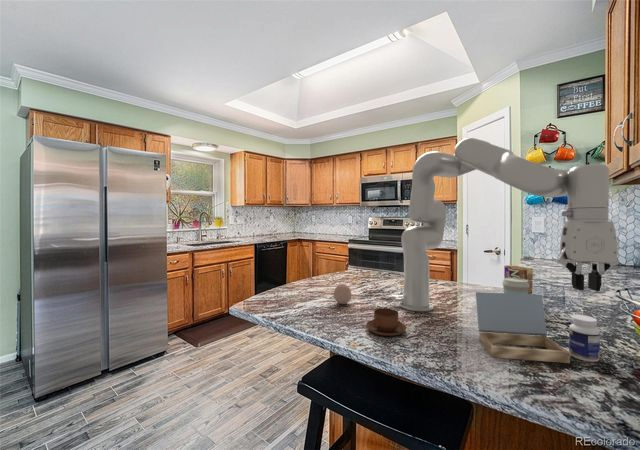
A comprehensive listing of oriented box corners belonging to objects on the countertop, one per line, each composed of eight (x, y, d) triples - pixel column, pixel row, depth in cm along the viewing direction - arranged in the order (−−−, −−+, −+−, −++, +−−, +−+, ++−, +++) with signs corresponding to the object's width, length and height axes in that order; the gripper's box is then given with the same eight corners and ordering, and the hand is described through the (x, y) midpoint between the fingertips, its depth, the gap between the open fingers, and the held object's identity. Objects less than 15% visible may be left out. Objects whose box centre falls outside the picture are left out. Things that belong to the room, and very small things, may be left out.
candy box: (533, 306, 115) (533, 267, 115) (526, 308, 113) (527, 268, 113) (509, 301, 123) (510, 264, 123) (503, 302, 121) (503, 265, 121)
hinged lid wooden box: (492, 357, 75) (492, 347, 74) (479, 340, 84) (479, 332, 84) (569, 363, 71) (569, 352, 71) (546, 345, 81) (546, 336, 81)
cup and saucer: (399, 342, 84) (399, 321, 84) (360, 334, 90) (360, 314, 90) (410, 329, 94) (410, 309, 94) (375, 322, 100) (375, 304, 100)
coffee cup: (534, 316, 105) (534, 282, 104) (507, 314, 106) (507, 281, 106) (522, 308, 113) (523, 277, 113) (498, 307, 115) (498, 276, 114)
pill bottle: (563, 352, 77) (563, 314, 77) (583, 351, 77) (583, 313, 77) (584, 363, 71) (584, 322, 71) (606, 362, 72) (606, 321, 71)
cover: (476, 292, 87) (475, 292, 88) (479, 331, 84) (478, 331, 85) (542, 294, 83) (540, 294, 84) (547, 336, 81) (545, 335, 82)
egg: (345, 307, 116) (345, 286, 116) (330, 304, 120) (330, 284, 120) (354, 303, 122) (354, 283, 121) (340, 300, 126) (340, 281, 126)
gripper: (558, 215, 71) (557, 292, 72) (639, 215, 68) (637, 295, 68) (541, 215, 78) (541, 285, 79) (614, 215, 75) (612, 287, 76)
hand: (586, 289), depth 74 cm, fingers open, 2 cm apart
